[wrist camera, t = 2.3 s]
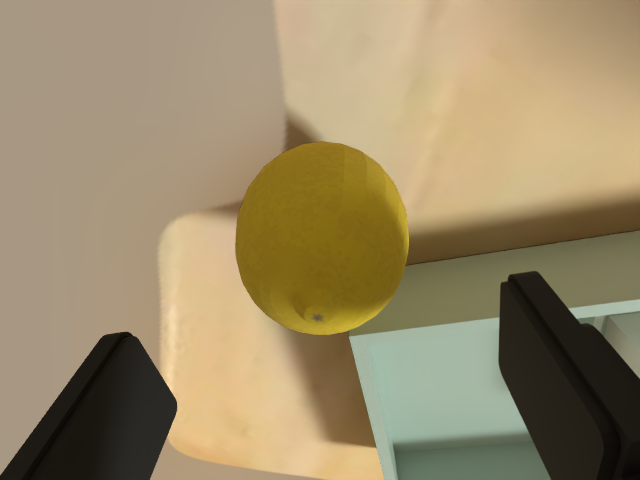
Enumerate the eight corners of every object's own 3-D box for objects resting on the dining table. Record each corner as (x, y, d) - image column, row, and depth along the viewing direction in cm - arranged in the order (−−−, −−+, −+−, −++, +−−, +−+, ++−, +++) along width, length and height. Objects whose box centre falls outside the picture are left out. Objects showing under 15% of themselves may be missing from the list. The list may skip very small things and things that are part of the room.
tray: (346, 274, 18) (348, 336, 15) (878, 194, 15) (1031, 249, 12) (386, 449, 27) (393, 514, 23) (735, 420, 24) (802, 490, 20)
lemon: (234, 190, 16) (163, 327, 9) (313, 83, 14) (294, 165, 7) (333, 257, 18) (333, 413, 11) (419, 173, 16) (484, 307, 9)
